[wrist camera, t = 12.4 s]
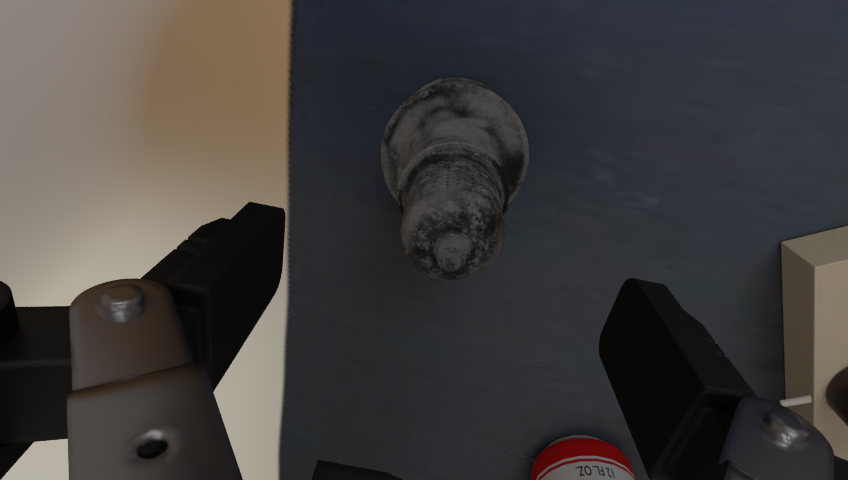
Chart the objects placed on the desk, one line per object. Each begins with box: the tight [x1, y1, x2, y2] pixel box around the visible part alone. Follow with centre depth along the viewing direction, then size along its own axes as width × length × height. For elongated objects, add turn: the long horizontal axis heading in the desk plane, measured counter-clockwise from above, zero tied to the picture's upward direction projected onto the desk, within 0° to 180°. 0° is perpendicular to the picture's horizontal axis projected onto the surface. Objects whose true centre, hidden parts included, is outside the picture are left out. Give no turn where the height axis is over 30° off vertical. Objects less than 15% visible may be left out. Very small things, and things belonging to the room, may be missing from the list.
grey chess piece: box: [380, 77, 529, 281], centre depth 17 cm, size 6×6×12 cm
